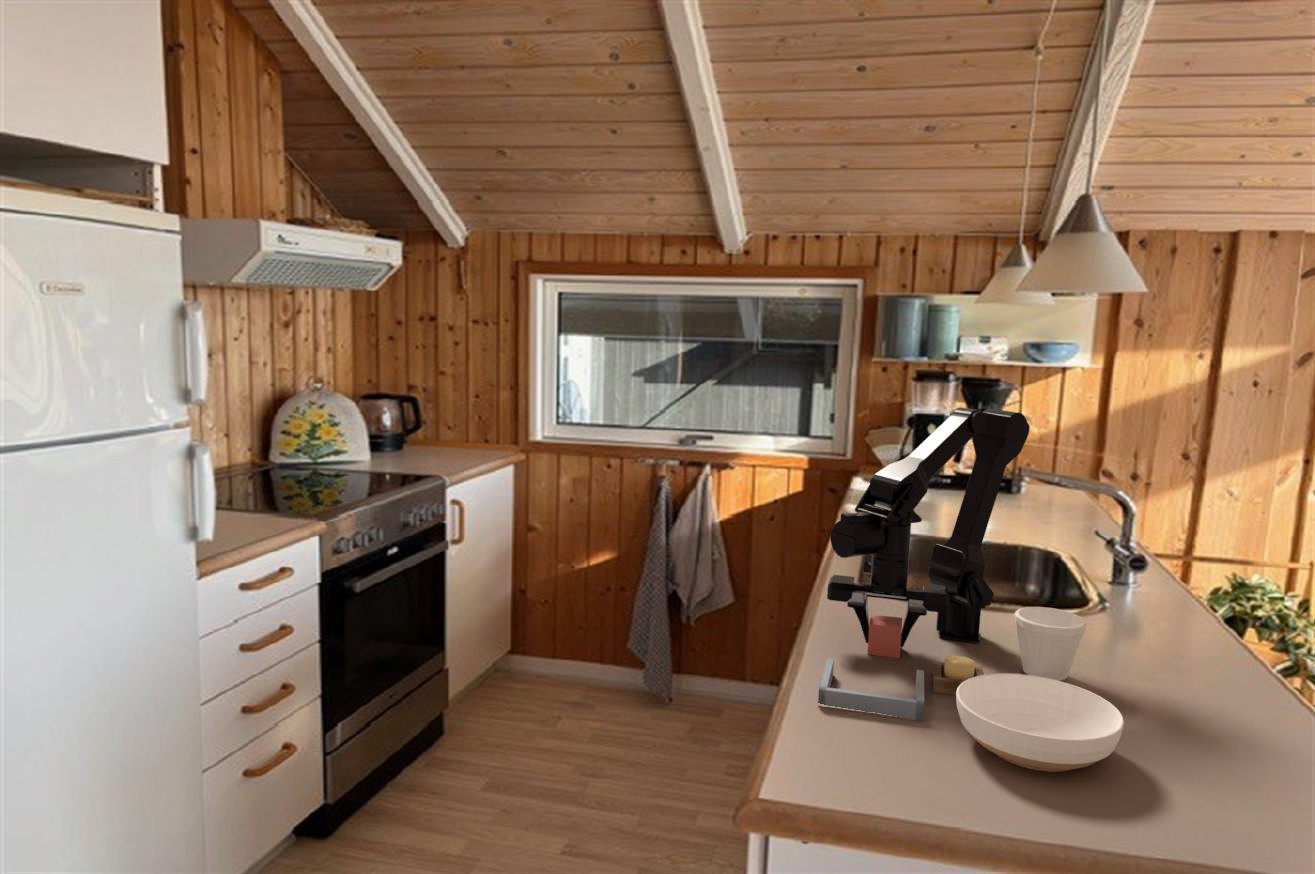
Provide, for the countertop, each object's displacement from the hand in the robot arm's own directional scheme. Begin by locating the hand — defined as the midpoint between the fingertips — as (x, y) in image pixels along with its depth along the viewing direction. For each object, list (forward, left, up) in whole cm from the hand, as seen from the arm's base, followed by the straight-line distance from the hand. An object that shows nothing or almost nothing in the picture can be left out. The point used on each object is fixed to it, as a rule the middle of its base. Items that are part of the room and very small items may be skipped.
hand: (884, 644), depth 149 cm
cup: (-24, +2, -1) cm, 24 cm away
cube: (0, 0, -1) cm, 1 cm away
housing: (-11, +11, -1) cm, 16 cm away
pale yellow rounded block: (-11, +11, 0) cm, 16 cm away
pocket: (+1, +19, -1) cm, 19 cm away
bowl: (-19, +29, -1) cm, 35 cm away
